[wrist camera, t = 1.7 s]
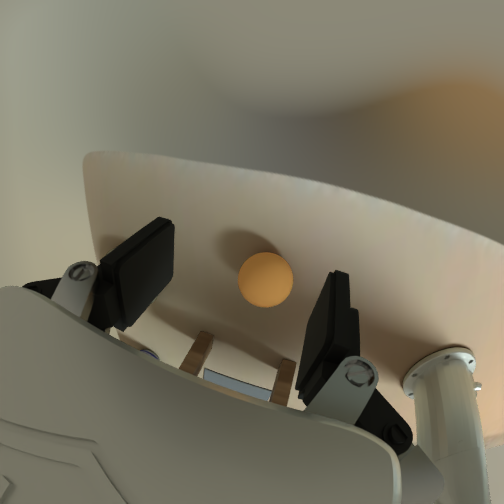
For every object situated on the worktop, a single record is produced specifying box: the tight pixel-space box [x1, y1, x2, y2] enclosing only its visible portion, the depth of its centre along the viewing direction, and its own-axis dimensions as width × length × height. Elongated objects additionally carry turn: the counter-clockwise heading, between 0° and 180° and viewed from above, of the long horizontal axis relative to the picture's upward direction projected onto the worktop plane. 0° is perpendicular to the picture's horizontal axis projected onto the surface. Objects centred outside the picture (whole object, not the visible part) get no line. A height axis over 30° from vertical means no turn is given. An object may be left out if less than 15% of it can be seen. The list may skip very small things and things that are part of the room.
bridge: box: [179, 331, 296, 407], centre depth 34 cm, size 3×14×9 cm, turn 79°
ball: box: [238, 252, 293, 307], centre depth 27 cm, size 6×6×6 cm
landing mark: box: [204, 368, 272, 401], centre depth 45 cm, size 12×12×1 cm
